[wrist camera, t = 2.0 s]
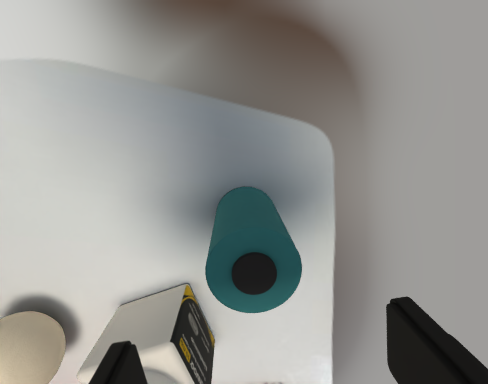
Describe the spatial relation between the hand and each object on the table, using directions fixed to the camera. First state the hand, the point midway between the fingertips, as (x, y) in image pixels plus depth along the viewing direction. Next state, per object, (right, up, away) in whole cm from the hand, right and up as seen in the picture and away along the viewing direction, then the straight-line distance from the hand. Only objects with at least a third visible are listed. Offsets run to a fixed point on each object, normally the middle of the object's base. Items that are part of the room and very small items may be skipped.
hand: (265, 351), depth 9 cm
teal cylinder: (-1, +4, +13) cm, 14 cm away
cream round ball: (-20, -7, +15) cm, 26 cm away
